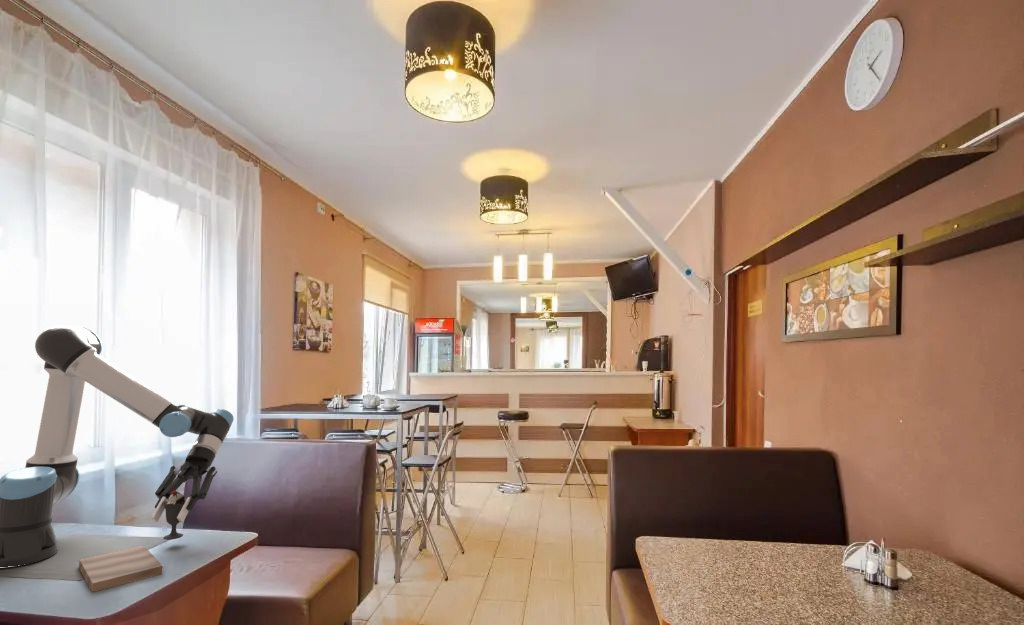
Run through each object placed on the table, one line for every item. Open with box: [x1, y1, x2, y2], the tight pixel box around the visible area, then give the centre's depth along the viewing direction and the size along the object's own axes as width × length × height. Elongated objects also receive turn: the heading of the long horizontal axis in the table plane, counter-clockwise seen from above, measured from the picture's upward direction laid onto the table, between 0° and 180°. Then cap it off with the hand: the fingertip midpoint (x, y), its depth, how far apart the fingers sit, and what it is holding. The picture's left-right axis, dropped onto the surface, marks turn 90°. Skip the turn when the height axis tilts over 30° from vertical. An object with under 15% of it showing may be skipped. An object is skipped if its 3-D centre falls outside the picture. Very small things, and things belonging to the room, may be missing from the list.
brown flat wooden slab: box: [78, 545, 164, 593], centre depth 130 cm, size 20×14×2 cm
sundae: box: [162, 485, 187, 541], centre depth 148 cm, size 7×7×15 cm
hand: (167, 519), depth 144 cm, fingers closed on sundae, 6 cm apart
